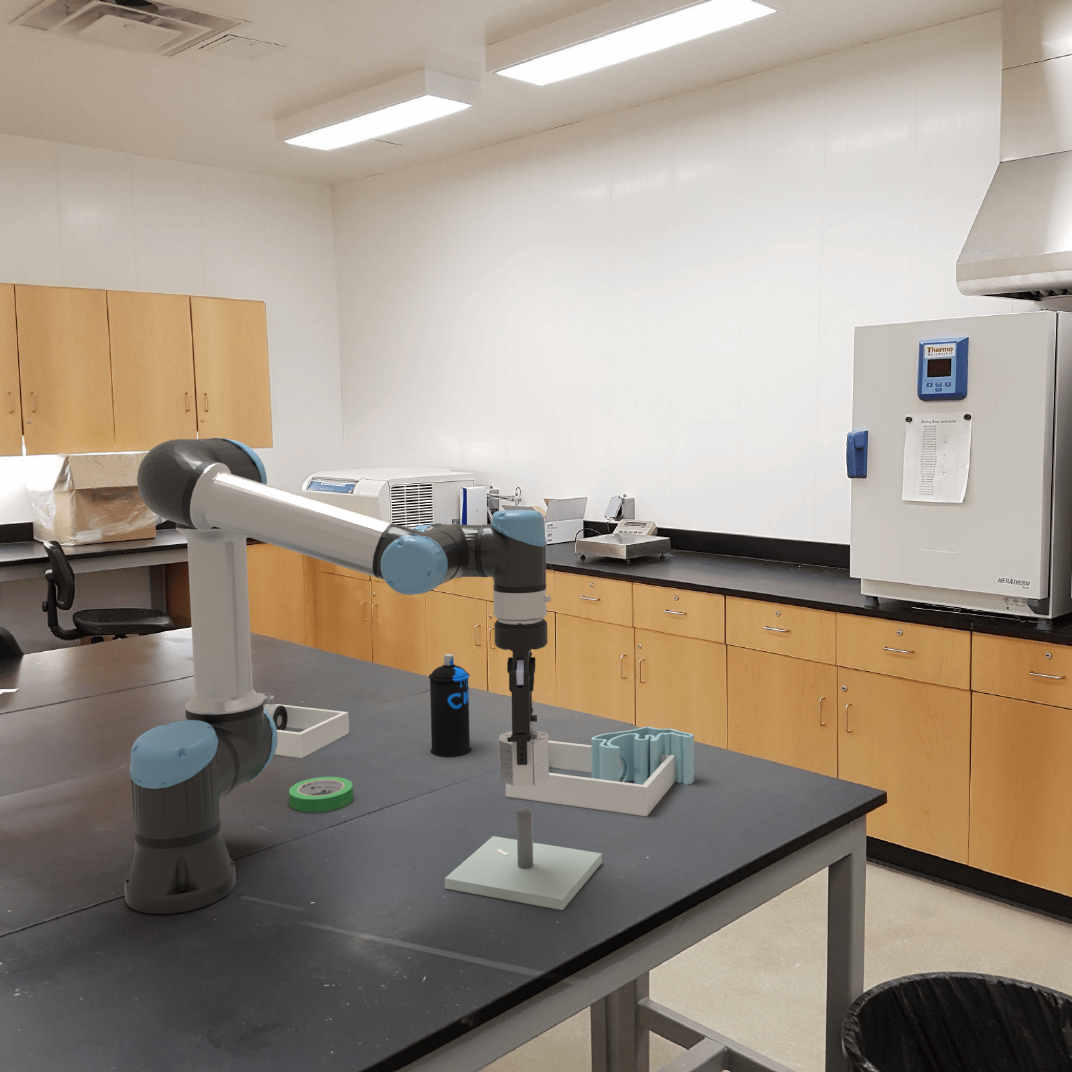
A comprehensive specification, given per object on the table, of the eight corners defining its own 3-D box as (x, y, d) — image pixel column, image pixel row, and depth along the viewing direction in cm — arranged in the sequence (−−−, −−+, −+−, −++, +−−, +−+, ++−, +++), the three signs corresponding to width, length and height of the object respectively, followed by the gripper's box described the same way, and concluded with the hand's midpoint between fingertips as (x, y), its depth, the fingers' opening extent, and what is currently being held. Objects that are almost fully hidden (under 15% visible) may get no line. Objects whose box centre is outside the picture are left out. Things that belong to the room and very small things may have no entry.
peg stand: (562, 910, 136) (561, 842, 135) (444, 888, 143) (443, 823, 142) (601, 863, 150) (601, 801, 149) (493, 845, 157) (492, 786, 156)
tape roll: (290, 816, 171) (289, 801, 171) (288, 794, 182) (288, 780, 182) (356, 809, 174) (355, 794, 174) (350, 787, 185) (349, 773, 185)
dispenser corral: (646, 816, 168) (646, 787, 168) (505, 796, 178) (505, 769, 178) (675, 781, 185) (675, 755, 184) (544, 765, 195) (544, 740, 194)
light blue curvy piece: (663, 769, 193) (663, 722, 192) (696, 785, 184) (696, 735, 183) (584, 787, 184) (583, 737, 183) (614, 804, 175) (614, 752, 174)
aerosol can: (422, 754, 202) (419, 657, 200) (444, 743, 210) (442, 649, 207) (457, 760, 198) (454, 661, 196) (478, 748, 206) (476, 652, 204)
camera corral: (301, 758, 201) (300, 734, 200) (206, 745, 210) (205, 722, 210) (349, 734, 216) (348, 712, 216) (258, 723, 226) (257, 702, 225)
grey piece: (548, 785, 141) (547, 739, 141) (499, 786, 142) (497, 740, 141) (549, 768, 148) (548, 725, 148) (502, 769, 149) (500, 726, 148)
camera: (262, 751, 207) (260, 703, 205) (223, 748, 209) (221, 701, 208) (297, 729, 222) (295, 684, 220) (260, 727, 224) (258, 683, 223)
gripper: (546, 632, 133) (549, 800, 135) (547, 606, 153) (550, 753, 155) (489, 633, 133) (493, 801, 135) (498, 607, 153) (501, 753, 155)
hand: (523, 775), depth 145 cm, fingers closed on grey piece, 7 cm apart
